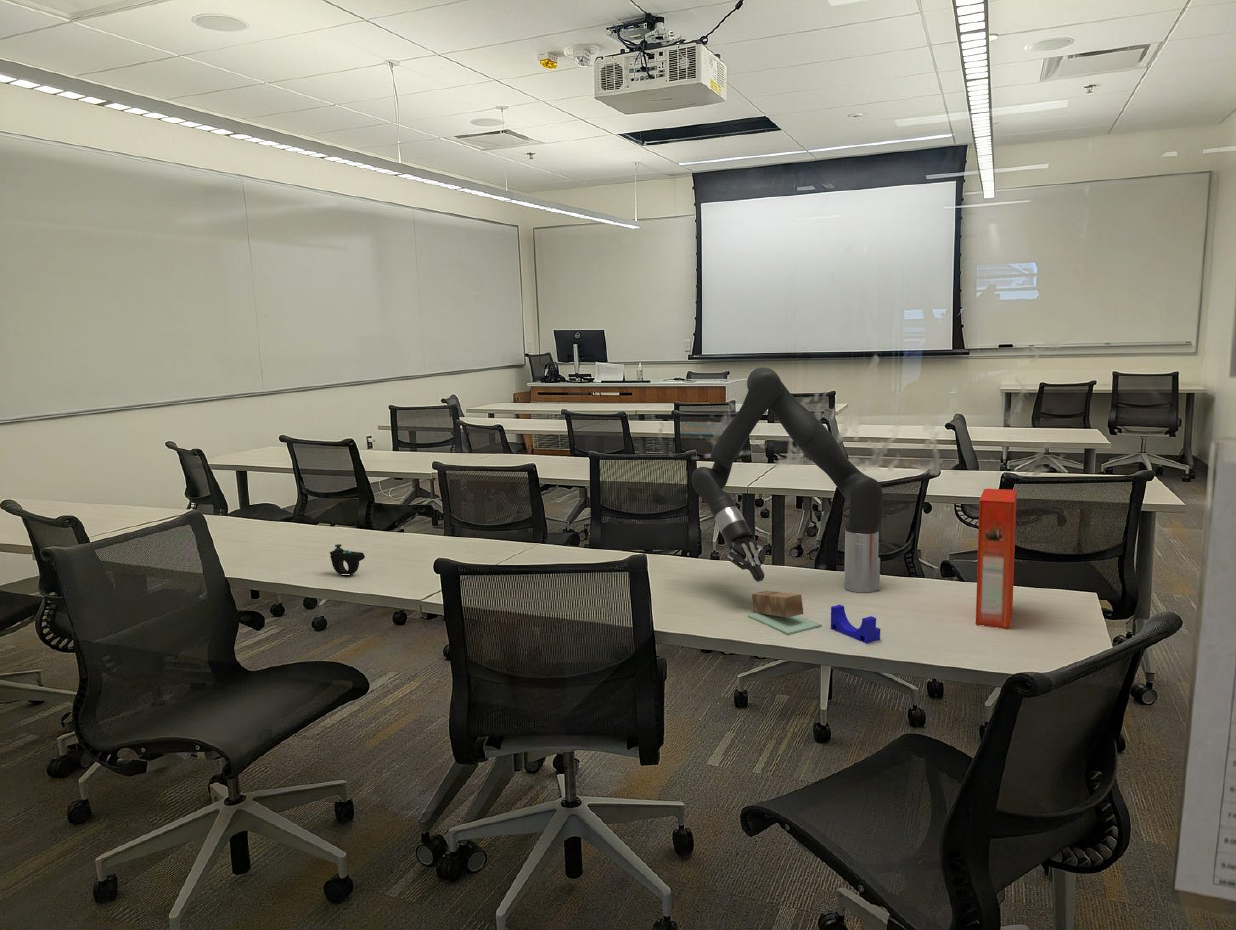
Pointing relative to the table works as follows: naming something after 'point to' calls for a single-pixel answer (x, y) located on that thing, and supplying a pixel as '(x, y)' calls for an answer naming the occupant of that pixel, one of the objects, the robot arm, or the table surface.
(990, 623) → the file binder
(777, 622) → the sage mat
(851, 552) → the robot arm
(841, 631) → the blue cradle block
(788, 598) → the walnut block
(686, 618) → the table surface
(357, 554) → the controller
